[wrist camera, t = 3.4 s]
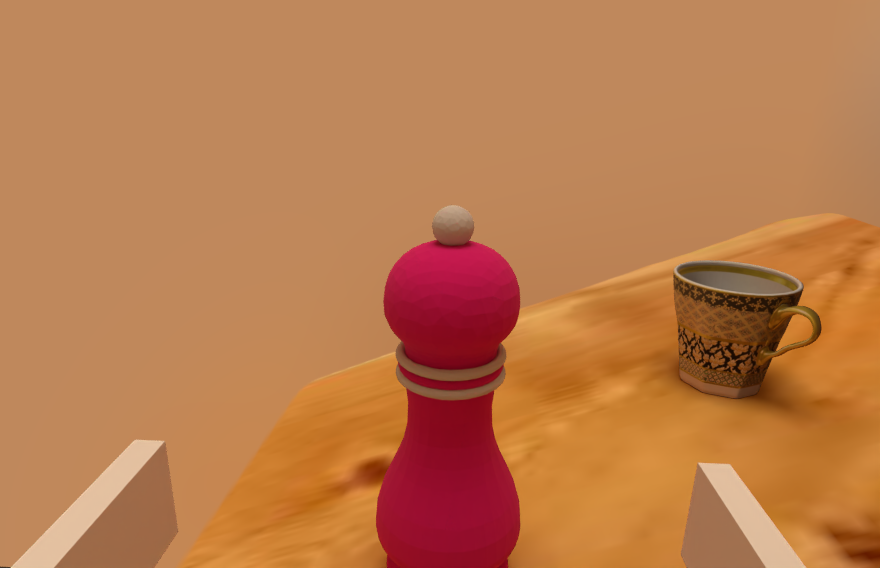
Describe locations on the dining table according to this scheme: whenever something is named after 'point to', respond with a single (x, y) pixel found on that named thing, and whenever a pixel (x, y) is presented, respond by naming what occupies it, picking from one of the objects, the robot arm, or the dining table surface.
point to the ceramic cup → (733, 323)
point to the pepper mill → (450, 404)
